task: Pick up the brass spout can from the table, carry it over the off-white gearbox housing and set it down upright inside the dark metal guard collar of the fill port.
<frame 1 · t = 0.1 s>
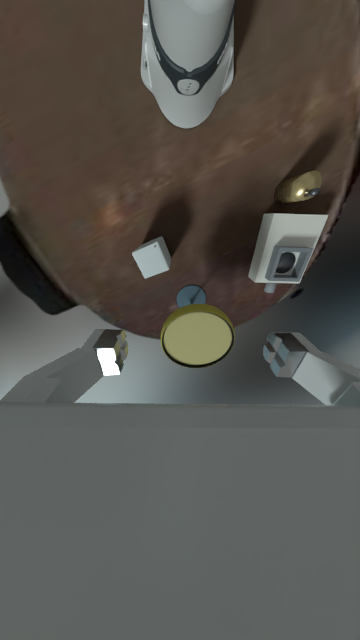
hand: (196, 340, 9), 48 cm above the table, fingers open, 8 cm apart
spout can: (283, 192, 44), on the table
gearbox: (277, 248, 51), on the table
cocktail glass: (191, 299, 60), on the table
supplement box: (156, 252, 52), on the table
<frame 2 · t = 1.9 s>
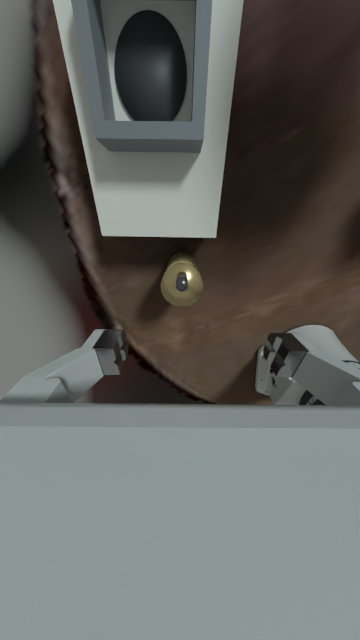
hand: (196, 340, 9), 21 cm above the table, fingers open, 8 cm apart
spout can: (182, 267, 28), on the table
gearbox: (161, 152, 20), on the table
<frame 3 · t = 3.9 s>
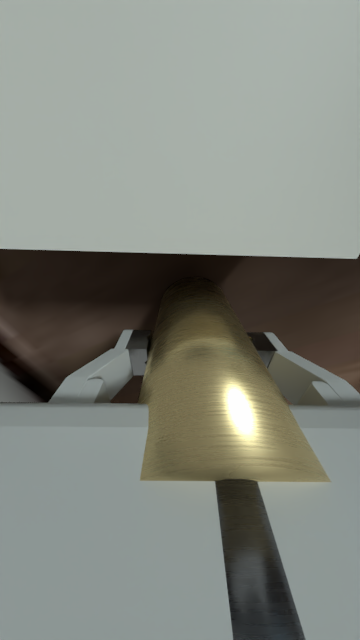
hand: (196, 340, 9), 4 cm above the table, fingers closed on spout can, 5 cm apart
spout can: (193, 309, 12), on the table, touching gripper
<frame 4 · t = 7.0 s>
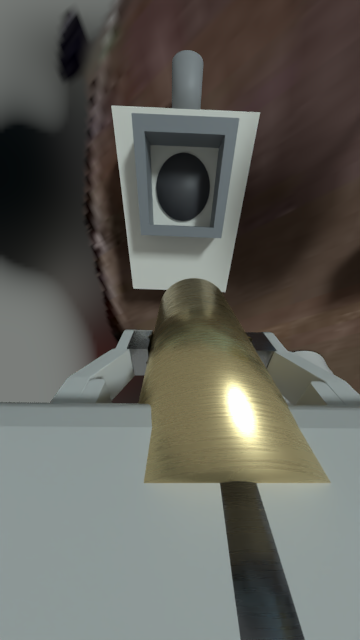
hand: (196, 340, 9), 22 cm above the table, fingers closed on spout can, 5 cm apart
spout can: (192, 310, 12), point 18 cm above the table, touching gripper
gearbox: (182, 220, 25), on the table
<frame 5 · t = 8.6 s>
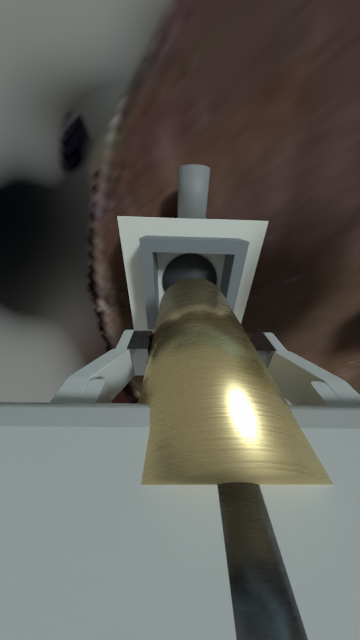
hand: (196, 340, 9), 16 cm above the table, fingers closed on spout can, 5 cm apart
spout can: (192, 310, 12), point 13 cm above the table, touching gripper
gearbox: (186, 288, 25), on the table
when the fingers open (11 cm above the table, at t = 9.9 s): spout can drops 1 cm, resting on gearbox.
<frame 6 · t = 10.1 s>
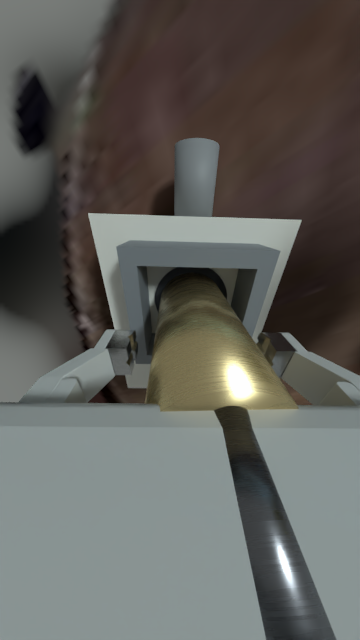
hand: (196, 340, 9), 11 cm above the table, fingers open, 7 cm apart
spout can: (190, 302, 14), point 6 cm above the table, touching gearbox
gearbox: (186, 301, 20), on the table
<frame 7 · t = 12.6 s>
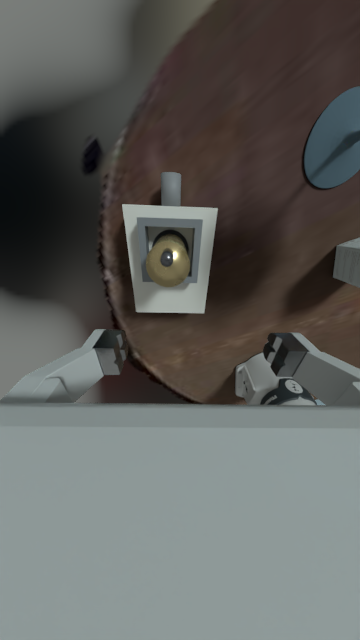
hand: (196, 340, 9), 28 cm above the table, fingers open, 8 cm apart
spout can: (170, 250, 27), point 6 cm above the table, touching gearbox
gearbox: (171, 260, 34), on the table
cocktail glass: (339, 144, 25), on the table
supplement box: (351, 255, 34), on the table
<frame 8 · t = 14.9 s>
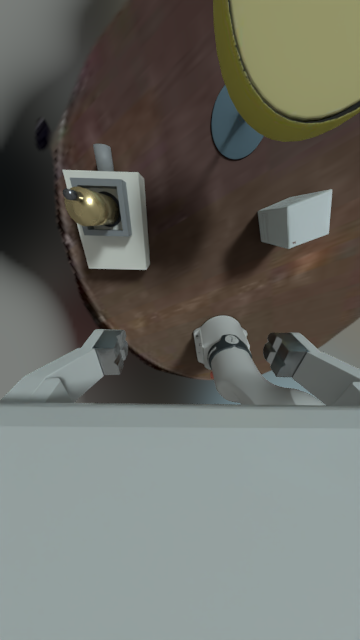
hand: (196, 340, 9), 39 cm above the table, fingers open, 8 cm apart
spout can: (106, 210, 33), point 6 cm above the table, touching gearbox
gearbox: (119, 225, 40), on the table
cocktail glass: (239, 121, 31), on the table
supplement box: (273, 220, 40), on the table
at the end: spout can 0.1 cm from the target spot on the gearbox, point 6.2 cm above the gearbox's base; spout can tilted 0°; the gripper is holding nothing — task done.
